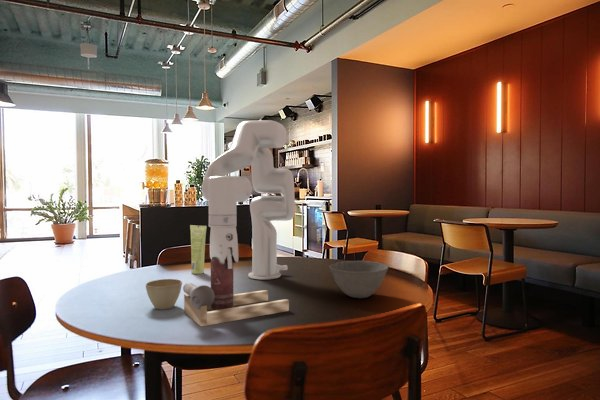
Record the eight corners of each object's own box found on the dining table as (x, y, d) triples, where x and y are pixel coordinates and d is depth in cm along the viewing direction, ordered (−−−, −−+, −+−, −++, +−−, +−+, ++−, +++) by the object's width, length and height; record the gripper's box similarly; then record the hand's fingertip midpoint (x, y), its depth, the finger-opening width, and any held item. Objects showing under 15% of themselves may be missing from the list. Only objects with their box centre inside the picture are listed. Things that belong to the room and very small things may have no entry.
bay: (265, 299, 128) (266, 267, 128) (292, 312, 114) (292, 276, 114) (176, 313, 113) (176, 277, 113) (194, 330, 100) (194, 289, 99)
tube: (203, 271, 171) (203, 224, 171) (206, 273, 166) (206, 225, 166) (190, 272, 169) (190, 225, 168) (192, 274, 164) (192, 226, 164)
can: (229, 311, 109) (229, 259, 108) (207, 310, 110) (207, 258, 110) (237, 305, 115) (237, 255, 114) (216, 304, 116) (216, 254, 116)
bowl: (352, 286, 145) (353, 258, 145) (399, 296, 132) (399, 265, 132) (316, 296, 132) (316, 265, 132) (364, 308, 119) (364, 273, 119)
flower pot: (151, 302, 124) (151, 279, 123) (185, 302, 124) (185, 278, 124) (141, 312, 114) (141, 286, 114) (178, 311, 114) (177, 286, 114)
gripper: (246, 222, 108) (246, 292, 108) (225, 219, 120) (225, 281, 121) (219, 223, 104) (219, 295, 104) (200, 219, 116) (200, 284, 117)
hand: (222, 287), depth 113 cm, fingers closed
